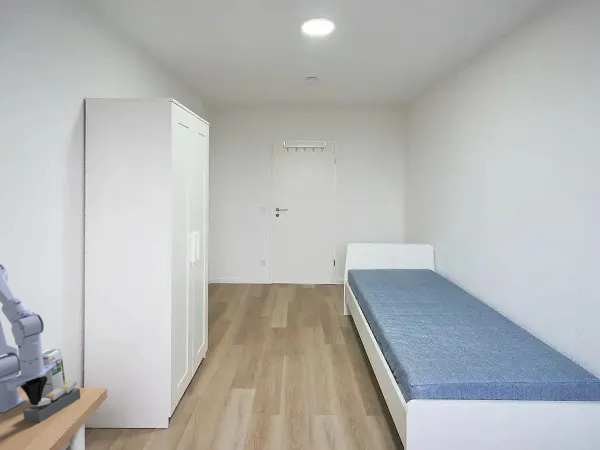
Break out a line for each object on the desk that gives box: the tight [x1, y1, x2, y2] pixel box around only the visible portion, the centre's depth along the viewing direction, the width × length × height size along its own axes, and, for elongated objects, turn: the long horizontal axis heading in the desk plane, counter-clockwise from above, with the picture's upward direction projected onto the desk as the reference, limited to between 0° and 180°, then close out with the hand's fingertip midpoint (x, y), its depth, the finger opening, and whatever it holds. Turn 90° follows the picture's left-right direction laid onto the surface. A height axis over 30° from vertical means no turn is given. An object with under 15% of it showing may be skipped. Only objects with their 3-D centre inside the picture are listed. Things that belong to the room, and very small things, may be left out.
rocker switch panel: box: [22, 387, 81, 423], centre depth 137 cm, size 6×15×4 cm, turn 161°
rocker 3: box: [60, 380, 78, 393], centre depth 141 cm, size 3×4×1 cm
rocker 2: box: [46, 388, 64, 400], centre depth 136 cm, size 3×4×1 cm
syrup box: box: [41, 348, 66, 398], centre depth 146 cm, size 6×6×14 cm
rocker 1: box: [31, 398, 51, 406], centre depth 132 cm, size 3×4×1 cm
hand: (36, 403), depth 130 cm, fingers closed, pressing on rocker 1
